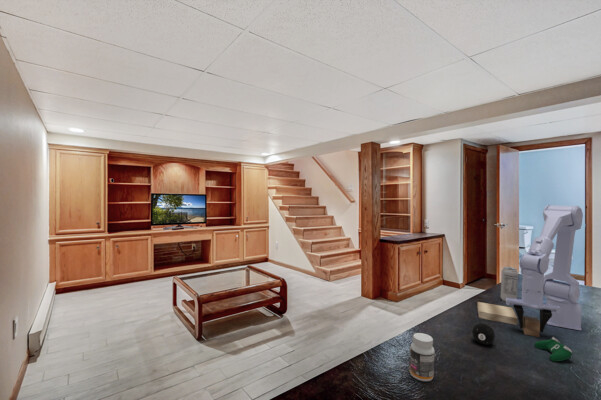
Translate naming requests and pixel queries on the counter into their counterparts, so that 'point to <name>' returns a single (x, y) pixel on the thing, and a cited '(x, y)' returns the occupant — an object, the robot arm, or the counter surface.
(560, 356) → the gaming controller
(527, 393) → the counter surface
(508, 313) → the birch base
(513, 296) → the energy drink can
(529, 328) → the walnut block
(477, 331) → the billiard ball
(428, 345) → the pill bottle
